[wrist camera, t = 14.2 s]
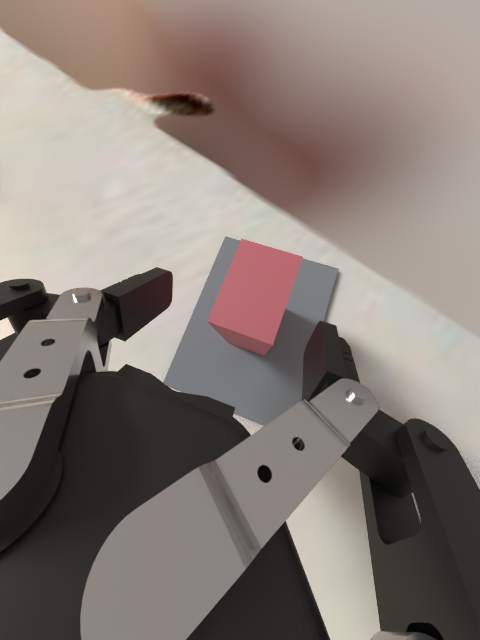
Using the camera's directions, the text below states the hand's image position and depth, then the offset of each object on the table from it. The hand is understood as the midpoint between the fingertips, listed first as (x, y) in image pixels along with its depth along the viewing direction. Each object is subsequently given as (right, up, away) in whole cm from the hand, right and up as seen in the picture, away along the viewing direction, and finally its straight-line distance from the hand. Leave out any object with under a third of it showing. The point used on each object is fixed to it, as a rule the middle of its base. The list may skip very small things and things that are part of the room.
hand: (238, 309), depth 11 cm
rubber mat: (+1, -1, +9) cm, 9 cm away
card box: (+1, -1, +9) cm, 9 cm away
